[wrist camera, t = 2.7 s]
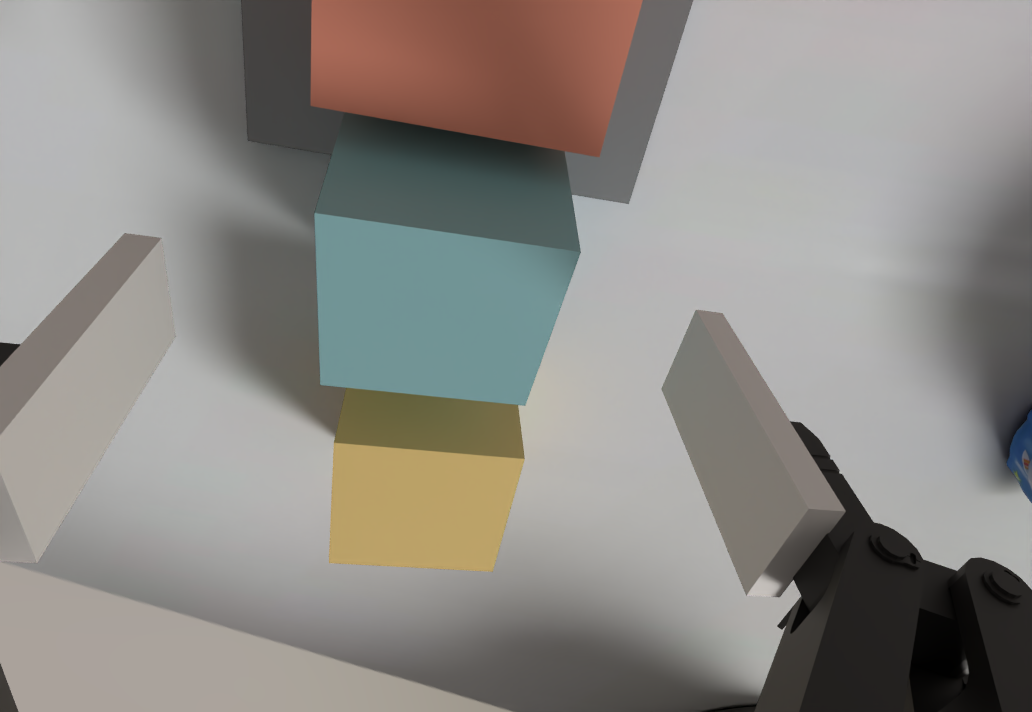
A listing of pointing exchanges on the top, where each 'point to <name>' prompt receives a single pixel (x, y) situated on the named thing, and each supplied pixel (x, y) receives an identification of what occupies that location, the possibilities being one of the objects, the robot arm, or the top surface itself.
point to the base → (322, 125)
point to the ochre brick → (422, 480)
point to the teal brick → (440, 260)
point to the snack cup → (1022, 456)
